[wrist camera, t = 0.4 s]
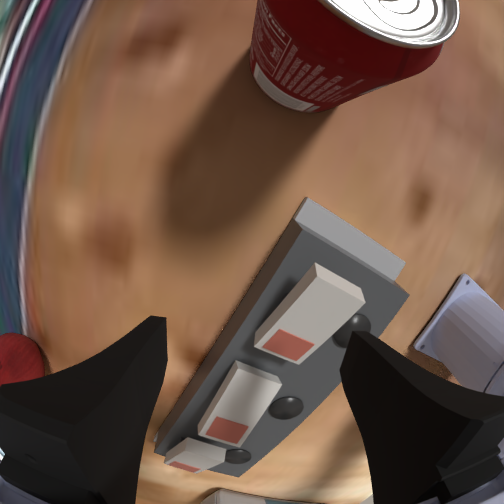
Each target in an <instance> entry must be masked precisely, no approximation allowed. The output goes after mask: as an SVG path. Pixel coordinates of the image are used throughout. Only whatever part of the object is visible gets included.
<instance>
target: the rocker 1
mask: <svg viewBox="0 0 504 504" xmlns="http://www.w3.org/2000/svg"><path fill="white" fill-rule="evenodd" d="M225 453H226V449H224V448H221V447H217V446H214V445H211V444H207V443H204V442H201V441H198V440H195V439H192V438H189V437H187V438H186V439H185V440H183V441H182V442H181V443H179V444H178V445H176V446H175V447H174V448H172V449H171V450H169V451H168V452H167V453H166V456H165V460H164V464H167V465H170V466H173V467H176V468H180V469H183V470H186V471H190V472H193V473H199V472H202V471H204V470H207V469H209V468H211V467H214V466H216V465H218V464H221V463H223V462H224V460H225Z"/></svg>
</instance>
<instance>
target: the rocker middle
mask: <svg viewBox="0 0 504 504" xmlns="http://www.w3.org/2000/svg"><path fill="white" fill-rule="evenodd" d="M281 386H282V383H281V382H280V380H279V378H278V376H275V375H273V374H270V373H267V372H265V371H262V370H259V369H257V368H254V367H252V366H249V365H247V364H244V363H242V362H239V361H237V360H235V362H234V364H233V366H232V367H231V369H230V371H229V373H228V374H227V376H226V378H225V380H224V381H223V383H222V385H221V387H220V388H219V390H218V392H217V393H216V395H215V397H214V398H213V400H212V402H211V404H210V405H209V407H208V409H207V410H206V412H205V414H204V415H203V417H202V419H201V420H200V422H199V424H198V435H200V436H203V437H206V438H209V439H212V440H215V441H219V442H222V443H225V444H229V445H232V446H236V447H241V445H242V444H243V442H244V441H245V440H246V438H247V437H248V435H249V434H250V432H251V431H252V430H253V428H254V427H255V425H256V424H257V422H258V421H259V419H260V418H261V416H262V415H263V413H264V412H265V410H266V409H267V407H268V406H269V404H270V403H271V401H272V400H273V398H274V397H275V395H276V394H277V392H278V391H279V389H280V387H281Z"/></svg>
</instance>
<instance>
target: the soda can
mask: <svg viewBox="0 0 504 504" xmlns="http://www.w3.org/2000/svg"><path fill="white" fill-rule="evenodd" d="M459 19H460V7H459V2H458V0H258V1H257V8H256V14H255V21H254V27H253V34H252V41H251V48H250V56H249V61H250V69H251V72H252V75H253V77H254V79H255V81H256V83H257V85H258V86H259V88H260V89H261V90H262V91H263V92H264V93H265V94H266V95H267V96H268V97H269V98H270V99H272V100H273V101H274V102H276V103H278V104H279V105H281V106H283V107H286V108H288V109H291V110H295V111H299V112H310V113H312V112H321V111H325V110H328V109H331V108H333V107H336V106H338V105H340V104H342V103H345V102H347V101H350V100H352V99H354V98H357V97H359V96H362V95H364V94H366V93H369V92H371V91H374V90H376V89H379V88H382V87H384V86H387V85H389V84H392V83H395V82H397V81H400V80H403V79H406V78H408V77H411V76H414V75H416V74H419V73H421V72H422V71H424V70H426V69H427V68H428V67H430V66H431V65H432V64H433V63H434V62H435V61H436V59H437V58H438V56H439V55H440V53H441V51H442V48H443V45H444V42H445V41H447V40H448V39H449V38H450V37H451V36H452V35H453V34H454V33H455V31H456V29H457V27H458V24H459Z"/></svg>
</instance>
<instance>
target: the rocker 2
mask: <svg viewBox="0 0 504 504" xmlns="http://www.w3.org/2000/svg"><path fill="white" fill-rule="evenodd" d="M364 304H365V300H364V296H363V293H362V290H361V288H359V287H357V286H356V285H354V284H352V283H350V282H349V281H347V280H345V279H343V278H342V277H340V276H338V275H336V274H335V273H333V272H331V271H329V270H328V269H326V268H324V267H322V266H320V265H319V264H317V263H314V264H313V265H312V266H311V268H310V269H309V270H308V271H307V272H306V274H305V275H304V276H303V277H302V278H301V280H300V281H299V282H298V283H297V284H296V286H295V287H294V288H293V289H292V290H291V292H290V293H289V294H288V295H287V296H286V297H285V299H284V300H283V301H282V302H281V303H280V304H279V306H278V307H277V308H276V309H275V310H274V311H273V313H272V314H271V315H270V316H269V317H268V318H267V319H266V321H265V322H264V323H263V324H262V325H261V326H260V327H259V329H258V330H257V331H256V332H255V340H254V347H256V348H258V349H260V350H263V351H265V352H268V353H270V354H273V355H275V356H278V357H280V358H283V359H285V360H288V361H290V362H293V363H295V364H298V365H299V364H300V363H302V362H303V361H304V360H305V359H306V358H307V357H308V356H310V355H311V354H312V353H313V352H314V351H315V350H316V349H317V348H319V347H320V346H321V345H322V344H323V343H324V342H325V341H326V340H327V339H328V338H330V337H331V336H332V335H333V334H334V333H335V332H336V331H337V330H338V329H339V328H340V327H341V326H342V325H343V324H344V323H345V322H347V321H348V320H349V319H350V318H351V317H352V316H353V315H354V314H355V313H356V312H357V311H358V310H359V309H360V308H361V307H362V306H363V305H364Z"/></svg>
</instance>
